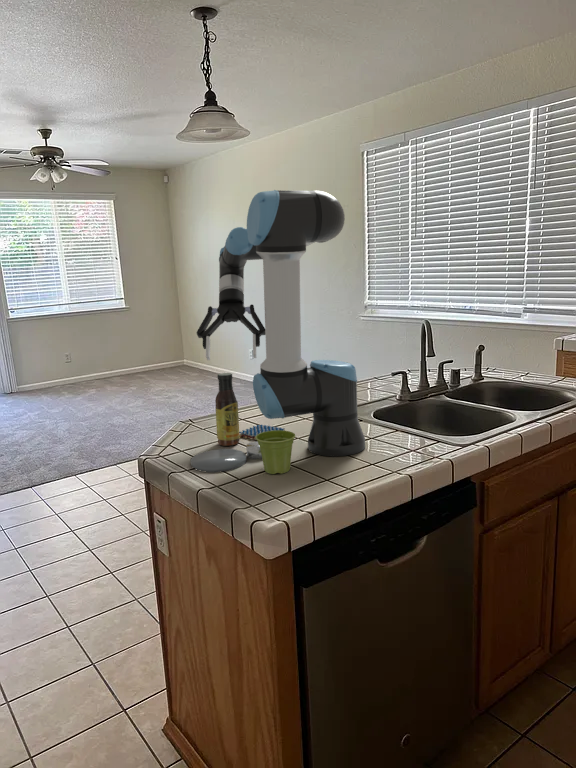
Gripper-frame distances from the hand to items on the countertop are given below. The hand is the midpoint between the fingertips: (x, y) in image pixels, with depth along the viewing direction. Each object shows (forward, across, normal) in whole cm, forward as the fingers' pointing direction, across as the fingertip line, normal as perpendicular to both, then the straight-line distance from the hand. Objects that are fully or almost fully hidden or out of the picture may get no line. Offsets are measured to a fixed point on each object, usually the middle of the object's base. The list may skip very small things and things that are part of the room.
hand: (231, 357), depth 163 cm
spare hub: (+31, -8, +6) cm, 32 cm away
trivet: (+33, +2, +9) cm, 34 cm away
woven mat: (+22, -8, -10) cm, 25 cm away
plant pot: (+37, -13, +15) cm, 42 cm away
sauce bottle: (+25, +1, -4) cm, 25 cm away
